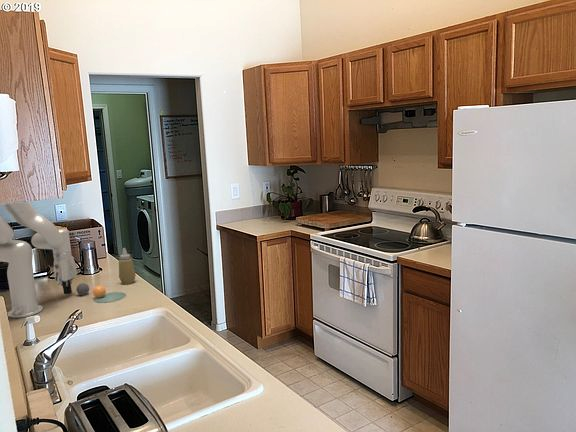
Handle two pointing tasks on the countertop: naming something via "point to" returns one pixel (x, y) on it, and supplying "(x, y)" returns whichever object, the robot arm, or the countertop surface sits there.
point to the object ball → (99, 291)
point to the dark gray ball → (82, 289)
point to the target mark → (110, 297)
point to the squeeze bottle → (126, 268)
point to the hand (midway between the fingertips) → (67, 293)
